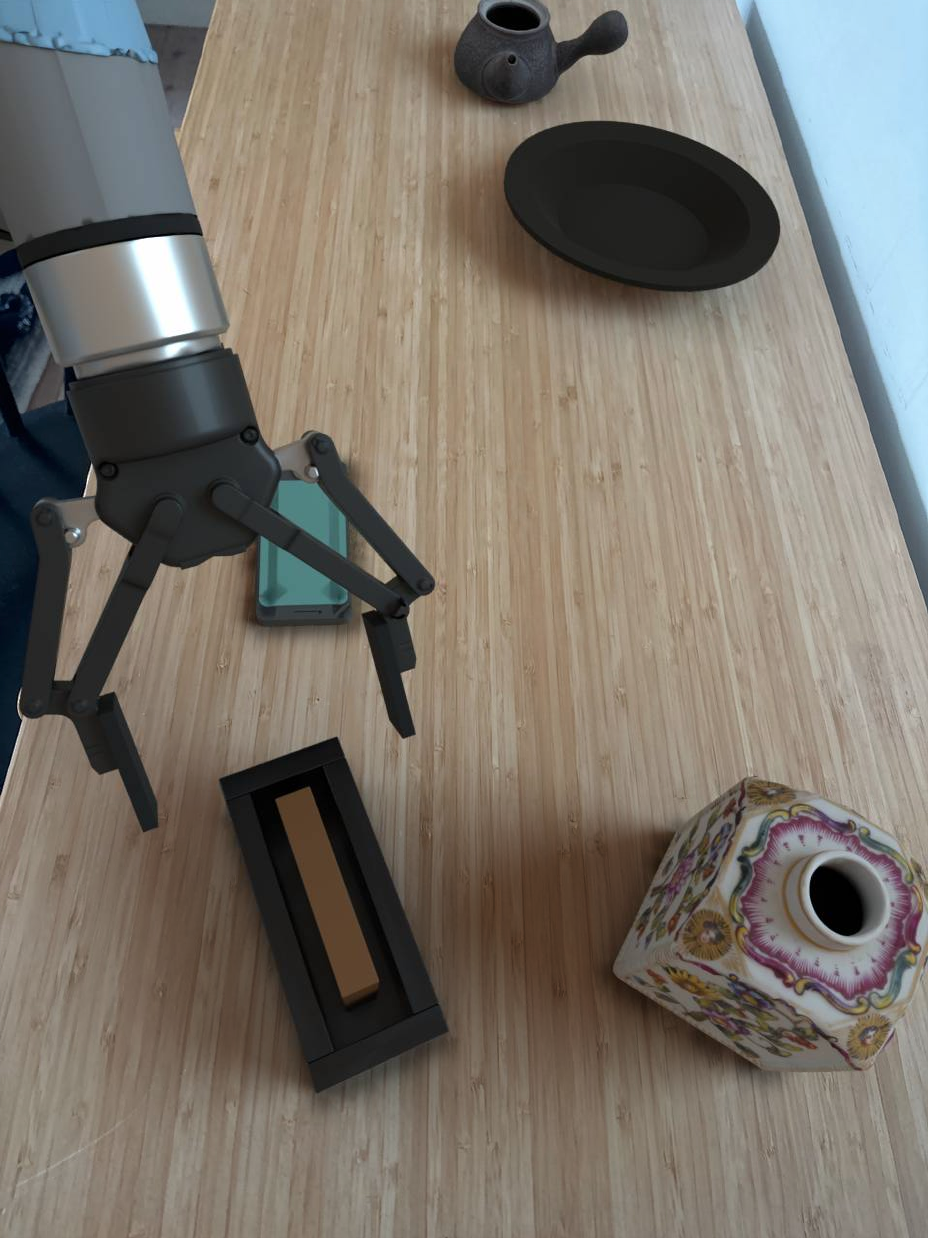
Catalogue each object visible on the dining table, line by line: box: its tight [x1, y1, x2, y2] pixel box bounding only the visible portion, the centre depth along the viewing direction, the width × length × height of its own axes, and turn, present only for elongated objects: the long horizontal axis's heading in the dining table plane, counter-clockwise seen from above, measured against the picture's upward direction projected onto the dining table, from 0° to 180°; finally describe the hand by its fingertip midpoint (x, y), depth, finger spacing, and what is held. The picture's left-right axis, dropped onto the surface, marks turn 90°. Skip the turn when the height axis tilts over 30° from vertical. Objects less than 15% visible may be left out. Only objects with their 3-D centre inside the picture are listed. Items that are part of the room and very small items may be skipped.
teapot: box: [453, 0, 629, 104], centre depth 98 cm, size 19×15×10 cm
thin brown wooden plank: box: [275, 787, 379, 1012], centre depth 51 cm, size 11×2×12 cm, turn 23°
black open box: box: [218, 735, 450, 1095], centre depth 53 cm, size 18×8×9 cm, turn 23°
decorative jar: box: [612, 775, 928, 1073], centre depth 51 cm, size 12×12×18 cm
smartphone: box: [254, 461, 353, 627], centre depth 70 cm, size 7×1×15 cm
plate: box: [503, 120, 781, 293], centre depth 88 cm, size 28×24×6 cm
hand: (281, 771), depth 46 cm, fingers open, 13 cm apart
